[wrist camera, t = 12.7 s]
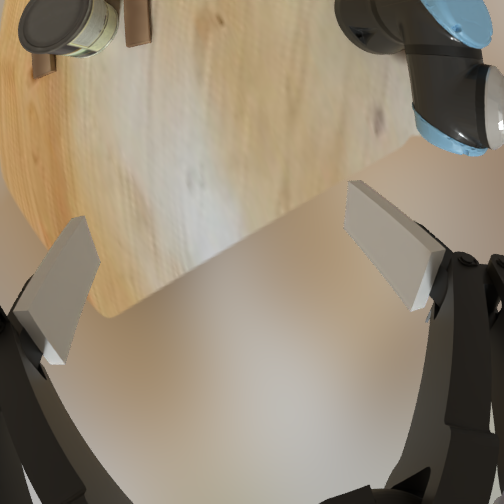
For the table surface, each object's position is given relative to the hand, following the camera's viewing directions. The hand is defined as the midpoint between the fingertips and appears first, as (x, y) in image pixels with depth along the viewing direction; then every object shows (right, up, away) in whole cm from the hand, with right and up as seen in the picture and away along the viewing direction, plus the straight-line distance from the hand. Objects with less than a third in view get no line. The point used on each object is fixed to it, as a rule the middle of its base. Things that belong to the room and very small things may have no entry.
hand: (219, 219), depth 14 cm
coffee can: (-24, +33, +16) cm, 43 cm away
